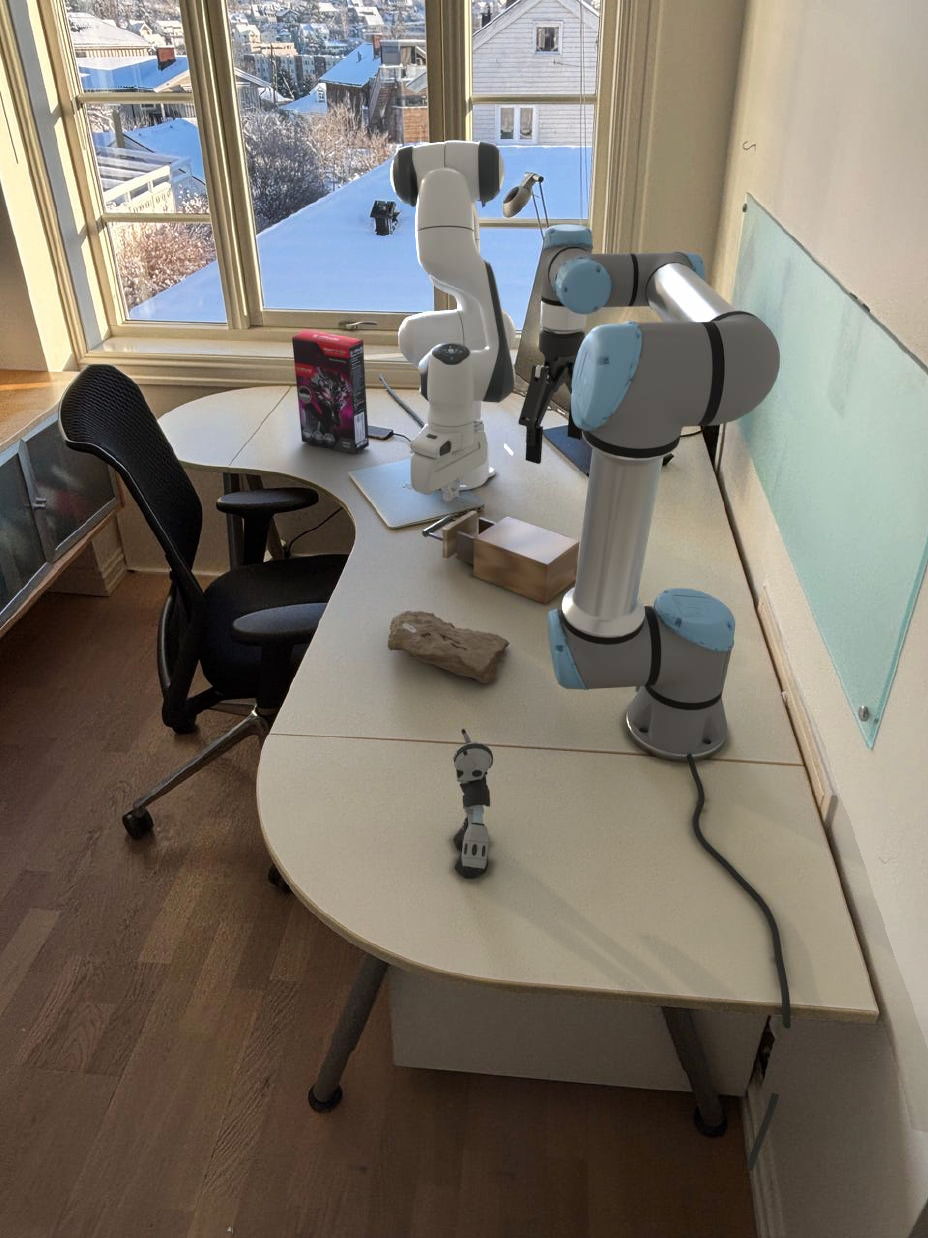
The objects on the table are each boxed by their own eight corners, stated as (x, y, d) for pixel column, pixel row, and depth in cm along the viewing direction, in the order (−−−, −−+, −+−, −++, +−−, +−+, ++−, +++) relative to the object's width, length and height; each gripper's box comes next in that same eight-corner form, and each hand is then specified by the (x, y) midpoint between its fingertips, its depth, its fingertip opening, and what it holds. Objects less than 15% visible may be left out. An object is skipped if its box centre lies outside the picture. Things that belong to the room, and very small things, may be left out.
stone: (364, 657, 153) (371, 625, 150) (394, 627, 166) (401, 597, 164) (483, 699, 149) (492, 667, 147) (504, 665, 163) (513, 635, 160)
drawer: (420, 548, 188) (419, 520, 184) (450, 530, 195) (450, 502, 191) (505, 582, 177) (506, 552, 174) (534, 561, 184) (535, 532, 180)
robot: (495, 914, 114) (500, 797, 103) (456, 915, 114) (456, 798, 103) (484, 799, 130) (487, 688, 119) (450, 801, 130) (450, 689, 119)
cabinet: (473, 575, 181) (473, 537, 176) (506, 553, 189) (507, 515, 184) (545, 604, 173) (547, 564, 168) (576, 579, 180) (579, 540, 176)
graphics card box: (299, 442, 234) (289, 335, 219) (315, 433, 239) (306, 328, 224) (356, 456, 228) (349, 346, 213) (371, 446, 233) (365, 338, 218)
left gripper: (470, 412, 184) (469, 476, 192) (404, 445, 170) (406, 512, 178) (496, 420, 181) (494, 484, 189) (430, 453, 167) (431, 521, 175)
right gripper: (582, 307, 161) (573, 423, 173) (499, 340, 144) (496, 466, 156) (620, 315, 157) (608, 432, 169) (539, 350, 140) (533, 478, 152)
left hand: (450, 498), depth 183 cm, fingers closed
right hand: (554, 449), depth 162 cm, fingers open, 13 cm apart
